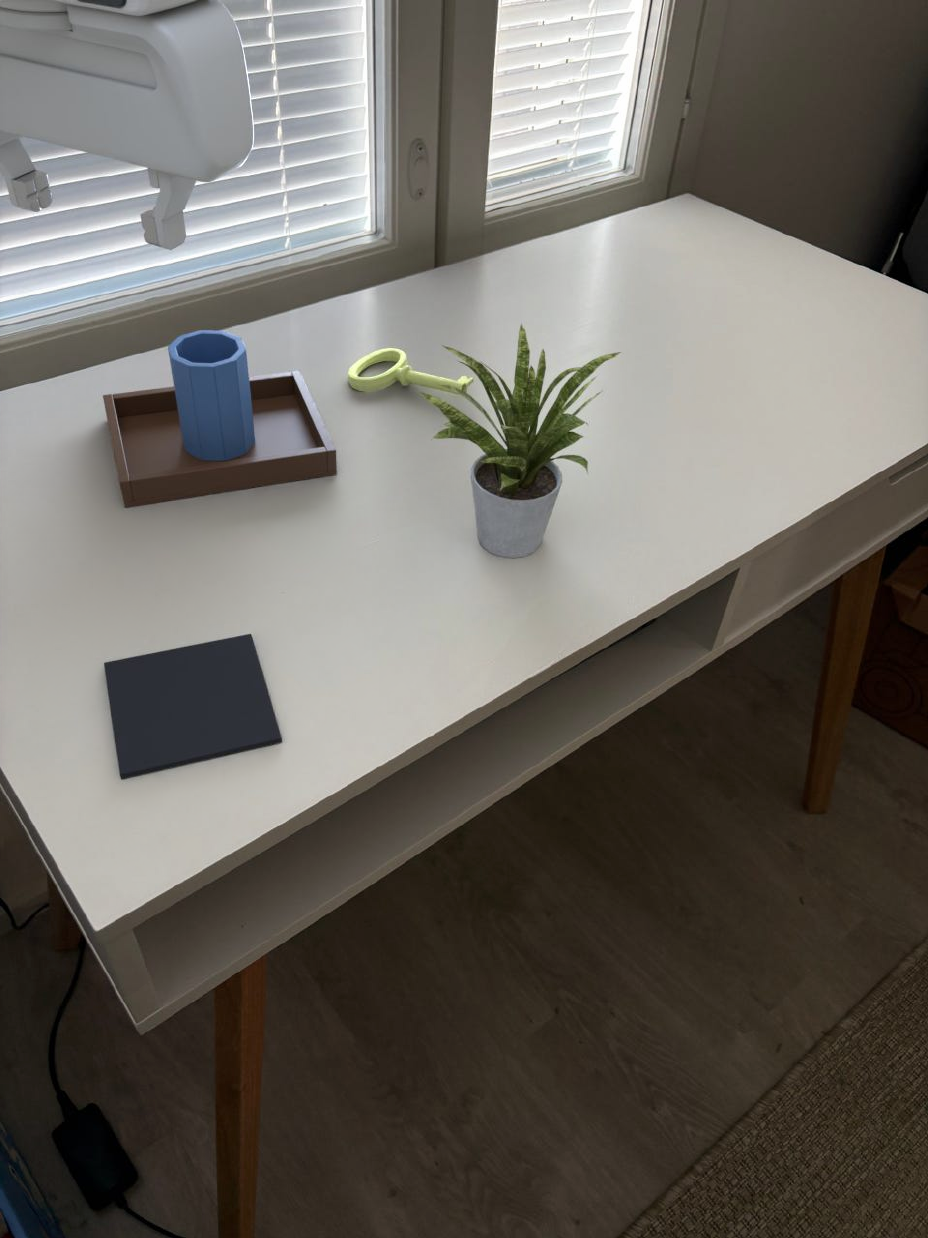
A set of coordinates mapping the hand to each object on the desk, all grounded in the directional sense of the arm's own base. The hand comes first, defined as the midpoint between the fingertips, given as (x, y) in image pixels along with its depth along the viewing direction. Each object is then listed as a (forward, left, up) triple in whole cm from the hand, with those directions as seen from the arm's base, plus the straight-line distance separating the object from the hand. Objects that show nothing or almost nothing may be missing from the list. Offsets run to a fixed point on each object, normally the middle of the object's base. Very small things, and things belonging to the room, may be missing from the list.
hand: (98, 224), depth 57 cm
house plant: (+28, -1, -27) cm, 39 cm away
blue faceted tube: (+7, +17, -26) cm, 32 cm away
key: (+26, +23, -27) cm, 44 cm away
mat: (0, -13, -27) cm, 30 cm away
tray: (+7, +17, -27) cm, 32 cm away
